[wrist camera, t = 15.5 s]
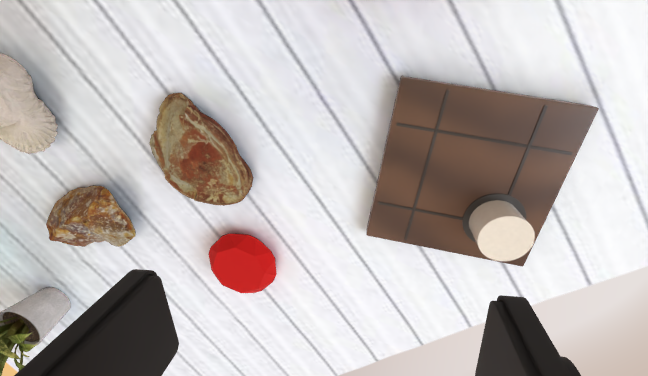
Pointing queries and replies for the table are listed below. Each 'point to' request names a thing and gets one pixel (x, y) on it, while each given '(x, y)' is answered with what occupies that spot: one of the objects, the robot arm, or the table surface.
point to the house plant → (30, 322)
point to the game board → (470, 161)
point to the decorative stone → (89, 218)
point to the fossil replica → (23, 110)
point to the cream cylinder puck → (501, 231)
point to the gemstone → (242, 263)
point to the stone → (198, 154)
